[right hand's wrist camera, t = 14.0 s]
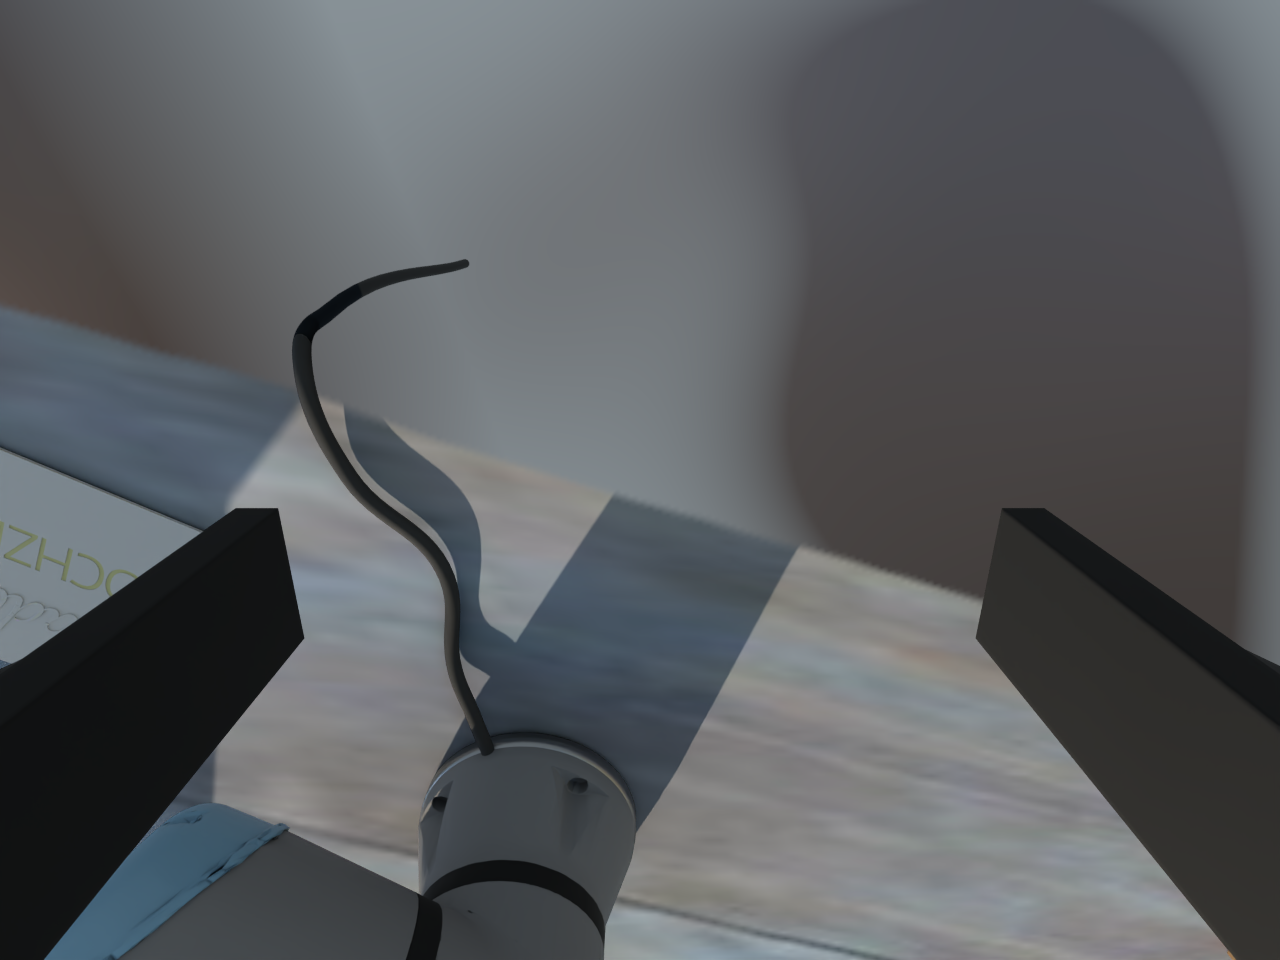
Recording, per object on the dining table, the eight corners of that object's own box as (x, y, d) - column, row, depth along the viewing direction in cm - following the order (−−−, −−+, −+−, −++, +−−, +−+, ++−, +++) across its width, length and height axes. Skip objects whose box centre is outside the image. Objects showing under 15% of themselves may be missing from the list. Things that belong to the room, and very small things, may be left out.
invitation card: (251, 554, 42) (191, 730, 47) (254, 552, 42) (194, 727, 47) (-120, 401, 38) (-144, 608, 43) (-115, 400, 39) (-139, 605, 43)
